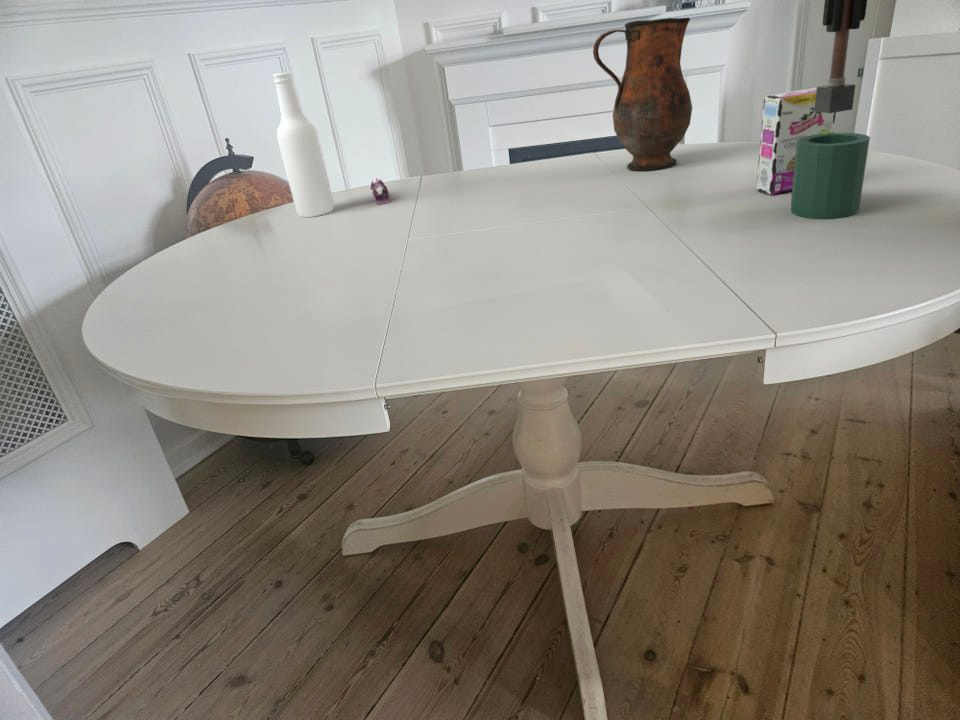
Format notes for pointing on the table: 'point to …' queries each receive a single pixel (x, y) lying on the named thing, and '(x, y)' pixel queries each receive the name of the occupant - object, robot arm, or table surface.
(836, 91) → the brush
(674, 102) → the pitcher
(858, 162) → the cup
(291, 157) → the alcohol
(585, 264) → the table surface
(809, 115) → the candy bar box
